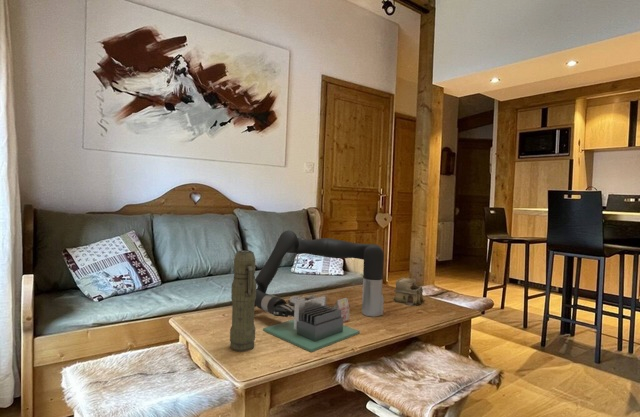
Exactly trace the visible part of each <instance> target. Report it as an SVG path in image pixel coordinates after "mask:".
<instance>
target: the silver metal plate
mask: <svg viewBox="0 0 640 417" xmlns="http://www.w3.org/2000/svg"><path fill="white" fill-rule="evenodd" d="M317 297H318V298H314V299H310V300H307V301H305V309H304V311H305V310H309V309H313V308H316V307H320V306H323V305H327V295H322V296H317ZM295 306H296V304H295ZM293 319H294V329H296V330H297V321H296V320H295V309H294V317H293Z"/></svg>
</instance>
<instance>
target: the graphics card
mask: <svg viewBox="0 0 640 417" xmlns="http://www.w3.org/2000/svg"><path fill="white" fill-rule="evenodd" d="M318 297H319V296H318V295H314V294H310V295H309V296H307V297H304V298H305V301H307V300H310V299H314V298H318ZM287 304H289V305H291V306H294V305H295V303H292V302H290V299H289V300H287Z"/></svg>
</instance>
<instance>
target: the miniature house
mask: <svg viewBox="0 0 640 417" xmlns="http://www.w3.org/2000/svg"><path fill="white" fill-rule="evenodd" d="M416 282H417V281H416V278H415V279H414V278H408V277H403V276H402V277H401V278H399V279H397V280H396V281H395V289H394V292H395V293H394V297H393V298H392V299H393V301H394V302H395V303H399V304H404V305H405V306H409V307H413V306H416V307H417V306H418V305H419V306H422V303H425V300H424V295H423V292H424V289H423V286H419V285H417V283H416Z"/></svg>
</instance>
